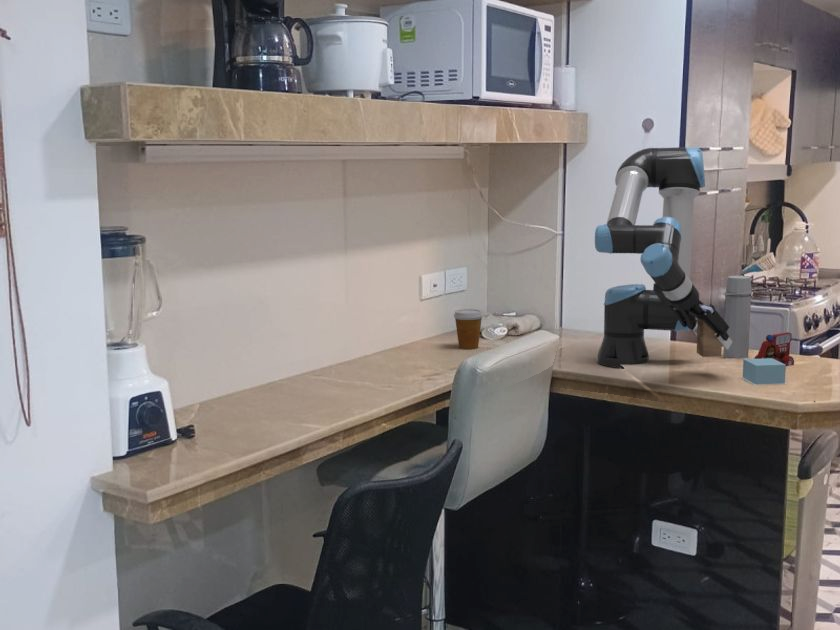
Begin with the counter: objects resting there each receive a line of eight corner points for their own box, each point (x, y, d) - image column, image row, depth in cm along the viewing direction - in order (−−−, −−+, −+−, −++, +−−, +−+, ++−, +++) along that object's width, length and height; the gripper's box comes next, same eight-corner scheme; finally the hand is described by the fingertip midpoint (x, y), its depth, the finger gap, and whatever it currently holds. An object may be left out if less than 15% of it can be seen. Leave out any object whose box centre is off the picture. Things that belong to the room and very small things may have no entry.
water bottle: (754, 359, 273) (758, 277, 269) (737, 363, 268) (741, 279, 264) (728, 354, 280) (731, 274, 276) (711, 358, 276) (715, 276, 272)
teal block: (742, 377, 246) (743, 359, 245) (771, 376, 246) (772, 358, 246) (755, 384, 238) (756, 365, 237) (784, 383, 239) (785, 364, 238)
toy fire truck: (748, 369, 261) (749, 333, 259) (777, 364, 267) (779, 329, 265) (767, 374, 255) (769, 337, 253) (797, 368, 261) (799, 333, 259)
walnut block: (696, 352, 250) (697, 317, 249) (714, 352, 251) (715, 316, 249) (703, 356, 245) (704, 320, 244) (721, 356, 246) (722, 320, 244)
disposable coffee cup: (452, 345, 301) (451, 309, 299) (480, 344, 302) (480, 308, 300) (456, 350, 292) (456, 314, 290) (485, 349, 293) (485, 313, 291)
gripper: (643, 297, 245) (682, 347, 257) (703, 307, 229) (741, 360, 240) (657, 275, 247) (695, 327, 259) (717, 284, 231) (755, 338, 242)
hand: (717, 343), depth 250 cm, fingers closed on walnut block, 7 cm apart
